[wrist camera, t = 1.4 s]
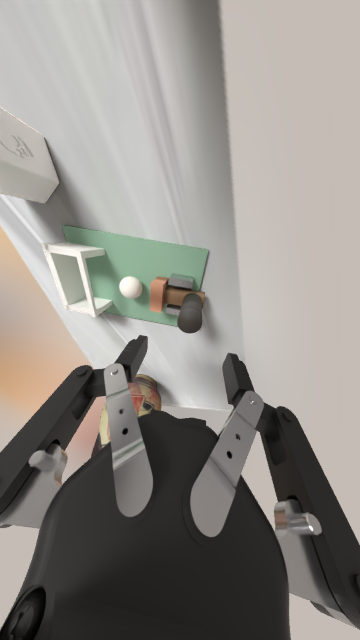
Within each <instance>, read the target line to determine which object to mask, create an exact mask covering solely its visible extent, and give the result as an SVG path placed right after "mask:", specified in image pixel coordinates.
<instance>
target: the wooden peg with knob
mask: <svg viewBox="0 0 360 640" xmlns="http://www.w3.org/2000/svg"><path fill="white" fill-rule="evenodd" d="M168 281H169V278H166V277H160V276H158V277H157V278H156V279H154V280H153V281H152V282H151V289H150V311H154V312H159V313H161V312H162V310H163V308H164V306H165V304H166V303H168V304H173V305H179V306H181V309H180V313H179V317H178V320H177V325H178V327H179V328H180V330H182V331H183V332H185V333H195V332H197V331H198V330H199V329H200V328H201V326H202V308H203V304H204V300H205V292H199V291H194V290H188V289H183V288H177V287H172V286H168Z"/></svg>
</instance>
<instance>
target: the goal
mask: <svg viewBox="0 0 360 640" xmlns="http://www.w3.org/2000/svg"><path fill="white" fill-rule="evenodd" d="M41 245H42V248H43V250H44V253H45V256H46V259H47V261H48V264H49V267H50V270H51V272H52V275H53V278H54V281H55V283H56V286H57V289H58V292H59V294H60V297H61V300H62V302H63V305H64V308H65V309H66V310H71V311H77V312H82V313H87V314H91V316H92V317H96V316H98V315H99V314H100V313H102V312H103V311H104V310H106V309H107V308H108V307H110V306H111V305H112V300H107V299H102V298H97V297H93V292H92V288H91V283H90V279H89V274H88V270H87V265H86V261H85V258H91V257H96V256H102V255H105V250H104V249H103V248H97V247H92V246H86V245H80V244H74V243H43V244H41Z"/></svg>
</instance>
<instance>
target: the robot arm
mask: <svg viewBox="0 0 360 640" xmlns="http://www.w3.org/2000/svg"><path fill="white" fill-rule="evenodd" d="M147 347H148V337H147V336H142V335H139V337H138V338H137V340H135V339H133V340H131V341H130V342H129V343H128V344H127V346H126V347H125V349H124V350H123V351H122V353H121V354H120V356H119V357H118V359H117V360H116V361H115V363H114V364H111V365H109V366H108V367H106V368H105V369H95V370H93V369H92V367H91V366H88V365H84V366H80V367H78V368H76V369H75V370H73V371H72V372H71V374H70V375H69V376H68V377H67V378H66V379H65V380H64V381H63V383H62V384H61V385H60V386H59V387H58V388H57V389H56V391H55V392H54V393H53V394H52V395H51V396H50V397H49V399H48V400H47V401H46V402H45V403H44V404H43V405H42V406H41V407H40V409H39V410H38V411H37V412H36V413H35V414H34V415H33V416H32V418H31V419H30V420H29V421H28V422H27V423H26V424H25V425H24V427H23V428H22V429H21V430H20V431H19V432H18V433H17V435H16V436H15V437H14V438H13V439H12V440H11V441H10V442H9V444H8V445H7V446H6V447H5V448H4V449H3V450H2V451H1V453H0V528H7V527H9V526H12V525H17V526H24V527H32V528H40V530H39V535H38V539H37V543H36V547H35V551H34V554H33V558H32V561H31V564H30V566H29V569H28V572H27V575H26V577H25V580H24V582H23V585H22V587H21V590H20V592H19V594H18V597H17V598H16V601H15V603H14V605H13V607H12V609H11V611H10V613H9V614H8V617H7V618H6V620H5V622H4V624H3V626H2V627H1V629H0V640H291V638H290V626H289V593H292V594H294V595H297V596H299V597H302V598H305V599H307V600H310V602H311V603H312V604H313V605H314V607H316V608H317V609H318V610H319V611H320V612H322V613H324V614H326V615H328V616H331V617H333V618H335V619H337V620H340V621H342V622H344V623H346V624H348V625H351V626H353V627H355V628H357V629H359V630H360V545H359V543H358V541H357V539H356V537H355V535H354V533H353V531H352V529H351V527H350V525H349V522H348V520H347V518H346V516H345V514H344V512H343V510H342V508H341V506H340V504H339V502H338V500H337V498H336V496H335V494H334V492H333V490H332V488H331V486H330V484H329V482H328V480H327V478H326V476H325V474H324V472H323V470H322V468H321V466H320V464H319V462H318V460H317V458H316V456H315V454H314V452H313V450H312V448H311V446H310V443H309V442H308V439H307V437H306V435H305V434H304V431H303V429H302V427H301V426H300V423H299V421H298V419H297V418H296V416H295V415H294V414H293V413H292V412H291V411H290V410H289V409H287V408H285V407H282V406H279V407H277V408H274V407H272V406H270V405H268V404H266V403H264V402H263V400H262V399H261V397H260V396H259V395H258V394H257V393H255V391H254V388H253V385H252V382H251V380H250V377H249V374H248V372H247V369H246V366H245V365H244V363H243V362H242V361H239V359H238V356H237V354H232V353H228V354H227V356H226V358H225V361H224V363H223V367H222V369H223V375H224V381H225V387H226V393H227V399H228V404H231V405H233V407H234V409H233V410H232V412H231V414H230V416H229V417H228V419H227V420H226V422H225V424H224V425H223V427H222V429H221V430H220V432H219V434H218V435H217V434H216V433H215V432H214V431H213V430H212V429H211V428H209V427H208V426H206V421H205V420H201V419H196V418H185V419H177V418H175V417H174V416H172V415H170V414H168V413H166V412H164V411H159V410H155V409H152V411H151V413H147V414H144V415H141V416H139V417H138V418H137V416H136V412H135V408H134V404H133V401H132V397H131V393H130V389H129V388H128V382H129V383H132V382H133V380H134V378H135V376H136V374H137V372H138V370H139V368H140V365H141V363H142V361H143V359H144V357H145V355H146V352H147ZM100 396H106V404H107V413H108V422H109V431H110V440H111V441H110V442H108V443H107V444H106V445H105V446H104V447H103V448H102V449H101V450H99V451H98V452H97V453H96V454H95V455H94V456H93V457H91V458H90V459H89V460H88V461H87V462H86V463H85V464H84V465H82V466H81V467H80V468H79V469H78V470H77V471H76V472H74V473H73V474H72V475H71V476H70V477H69V478H68V479H67V480H66V481H65V483H64V484H63V485H62V482H61V479H62V474H63V471H64V469H65V466H66V463H67V454H66V452H65V449H66V448H67V446H68V444H69V442H70V441H71V439H72V437H73V435H74V434H75V432H76V431H77V429H78V427H79V426H80V424H81V422H82V421H83V419H84V417H85V415H86V413H87V412H88V410H89V409H90V407H91V405H92V404H93V402H94V400H95V399H96V397H100ZM257 431H259V432H260V435H261V439H262V443H263V446H264V450H265V454H266V458H267V461H268V466H269V469H270V473H271V476H272V481H273V484H274V488H275V492H276V496H277V500H278V502H277V503H276V505H275V508H274V517H275V525H276V527H275V532H274V530H273V528H272V526H271V524H270V523H269V521H268V519H267V517H266V516H265V514H264V512H263V511H262V509H261V507H260V505H259V504H258V502H257V500H256V499H255V497H254V495H253V494H252V492H251V490H250V489H249V487H248V485H247V483H246V482H245V480H244V478H243V477H242V475H241V472H242V469H243V467H244V464H245V461H246V459H247V456H248V454H249V451H250V448H251V445H252V443H253V440H254V438H255V435H256V432H257Z"/></svg>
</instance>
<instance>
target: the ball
mask: <svg viewBox="0 0 360 640" xmlns="http://www.w3.org/2000/svg"><path fill="white" fill-rule="evenodd" d="M119 289H120V292H121V293H122V295H123V296H125V297H127V298H130V299H134V298H137V297H138V296H140V294H141V293H142V284H141V282H140V281H139V280H138V279H137V278H135V277H132V276H128V277H125V278H123V279H122V280H121V282H120V285H119Z"/></svg>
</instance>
